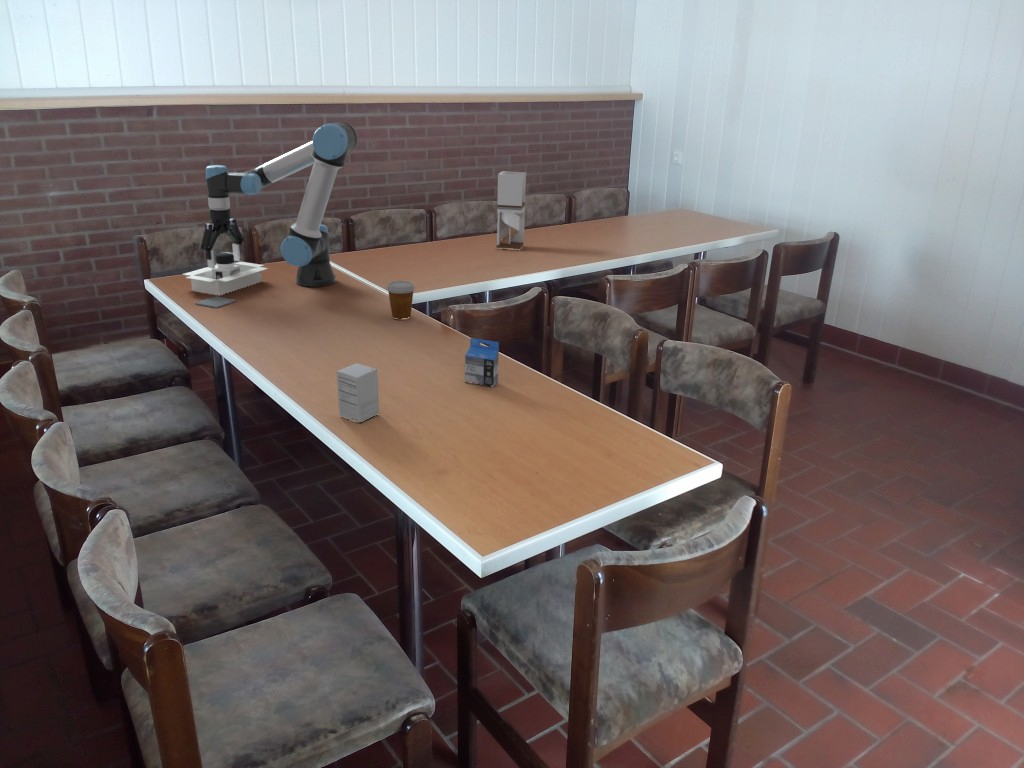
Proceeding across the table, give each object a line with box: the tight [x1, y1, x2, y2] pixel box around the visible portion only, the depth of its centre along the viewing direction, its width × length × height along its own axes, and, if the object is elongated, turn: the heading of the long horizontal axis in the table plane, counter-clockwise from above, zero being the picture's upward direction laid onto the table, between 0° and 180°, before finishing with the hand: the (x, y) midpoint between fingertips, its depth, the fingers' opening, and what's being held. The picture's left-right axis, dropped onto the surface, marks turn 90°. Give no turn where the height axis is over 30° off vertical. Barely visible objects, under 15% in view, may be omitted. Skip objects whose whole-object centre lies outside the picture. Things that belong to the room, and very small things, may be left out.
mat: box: [194, 295, 237, 309], centre depth 296 cm, size 10×10×1 cm
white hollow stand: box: [496, 170, 527, 250], centre depth 386 cm, size 11×11×35 cm
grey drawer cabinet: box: [336, 363, 380, 422], centre depth 205 cm, size 7×7×13 cm
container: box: [212, 251, 240, 280], centre depth 314 cm, size 8×8×13 cm
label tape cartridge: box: [464, 337, 500, 388], centre depth 229 cm, size 9×4×12 cm, turn 69°
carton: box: [182, 261, 269, 297], centre depth 315 cm, size 21×29×6 cm
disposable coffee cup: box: [386, 280, 415, 319], centre depth 283 cm, size 10×10×12 cm
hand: (224, 264), depth 313 cm, fingers open, 13 cm apart
